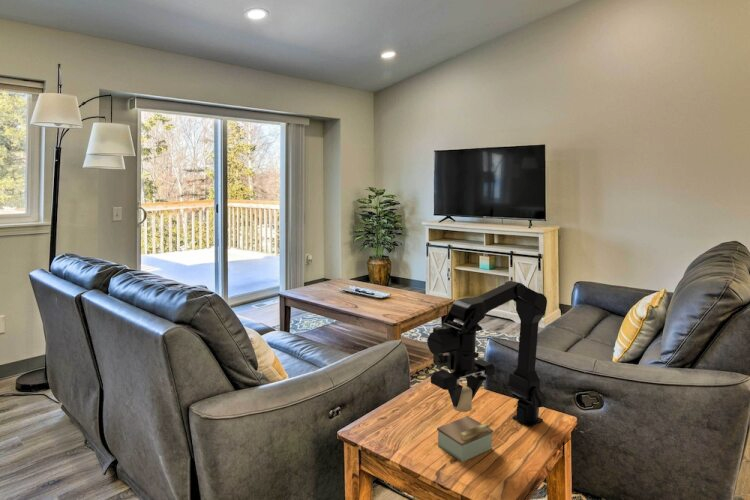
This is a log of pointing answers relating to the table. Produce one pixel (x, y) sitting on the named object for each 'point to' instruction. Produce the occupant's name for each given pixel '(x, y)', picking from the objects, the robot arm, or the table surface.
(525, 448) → the table surface
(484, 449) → the box body
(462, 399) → the dome-topped beige cylinder
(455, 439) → the lid
